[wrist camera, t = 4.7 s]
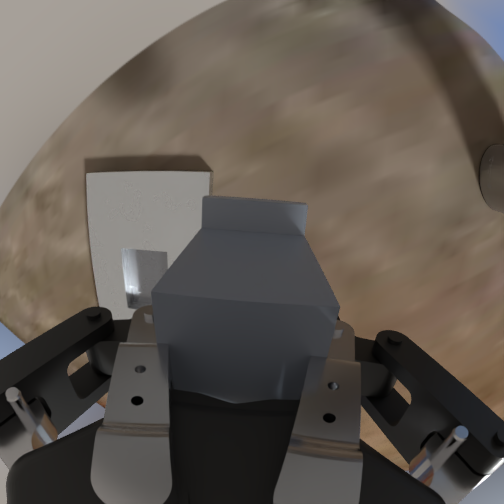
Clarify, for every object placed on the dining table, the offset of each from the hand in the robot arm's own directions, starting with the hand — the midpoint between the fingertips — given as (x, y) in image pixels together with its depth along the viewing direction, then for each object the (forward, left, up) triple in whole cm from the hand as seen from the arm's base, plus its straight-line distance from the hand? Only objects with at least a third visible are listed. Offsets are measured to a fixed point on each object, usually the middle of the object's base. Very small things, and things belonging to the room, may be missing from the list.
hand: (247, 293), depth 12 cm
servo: (0, 0, -2) cm, 2 cm away
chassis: (+12, +6, -17) cm, 22 cm away
